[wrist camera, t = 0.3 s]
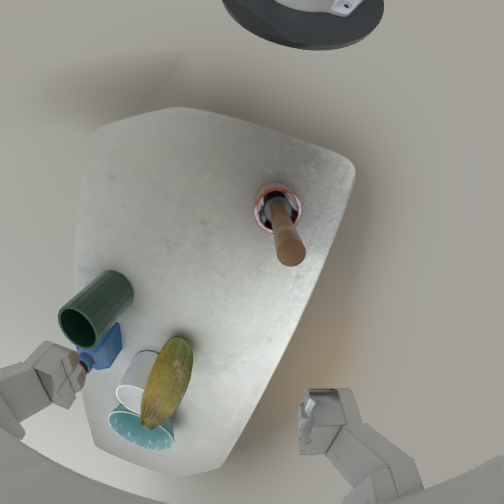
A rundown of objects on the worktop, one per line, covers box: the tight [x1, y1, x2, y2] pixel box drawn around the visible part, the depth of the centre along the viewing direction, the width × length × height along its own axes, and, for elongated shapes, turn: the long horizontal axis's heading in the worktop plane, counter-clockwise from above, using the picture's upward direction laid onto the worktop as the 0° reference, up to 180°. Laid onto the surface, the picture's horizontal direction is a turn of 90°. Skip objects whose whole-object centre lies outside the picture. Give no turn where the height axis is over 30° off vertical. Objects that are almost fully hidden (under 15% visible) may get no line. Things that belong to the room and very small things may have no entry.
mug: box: [116, 351, 158, 415], centre depth 45 cm, size 12×8×10 cm
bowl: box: [108, 404, 175, 451], centre depth 50 cm, size 16×16×8 cm
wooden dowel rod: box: [264, 190, 306, 267], centre depth 27 cm, size 3×3×22 cm
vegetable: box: [140, 337, 193, 430], centre depth 37 cm, size 6×6×20 cm
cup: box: [58, 271, 133, 350], centre depth 38 cm, size 7×8×13 cm
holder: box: [254, 182, 302, 234], centre depth 35 cm, size 5×5×8 cm
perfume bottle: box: [76, 323, 122, 376], centre depth 42 cm, size 6×6×12 cm
